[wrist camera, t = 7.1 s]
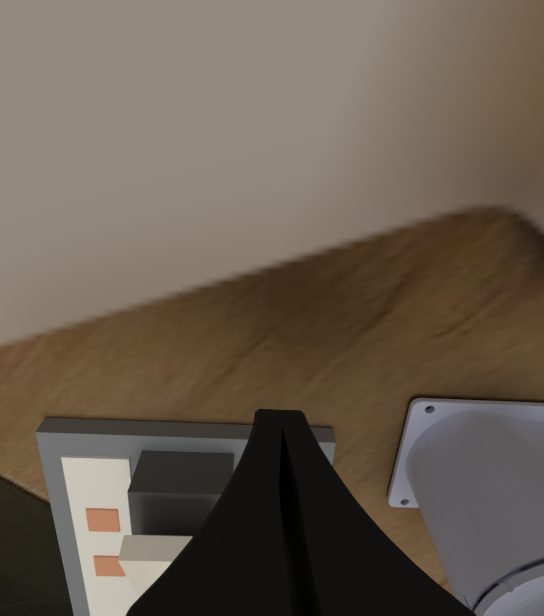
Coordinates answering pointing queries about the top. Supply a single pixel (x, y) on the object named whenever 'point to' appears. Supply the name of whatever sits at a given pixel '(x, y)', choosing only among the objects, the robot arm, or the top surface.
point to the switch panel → (126, 446)
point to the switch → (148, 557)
